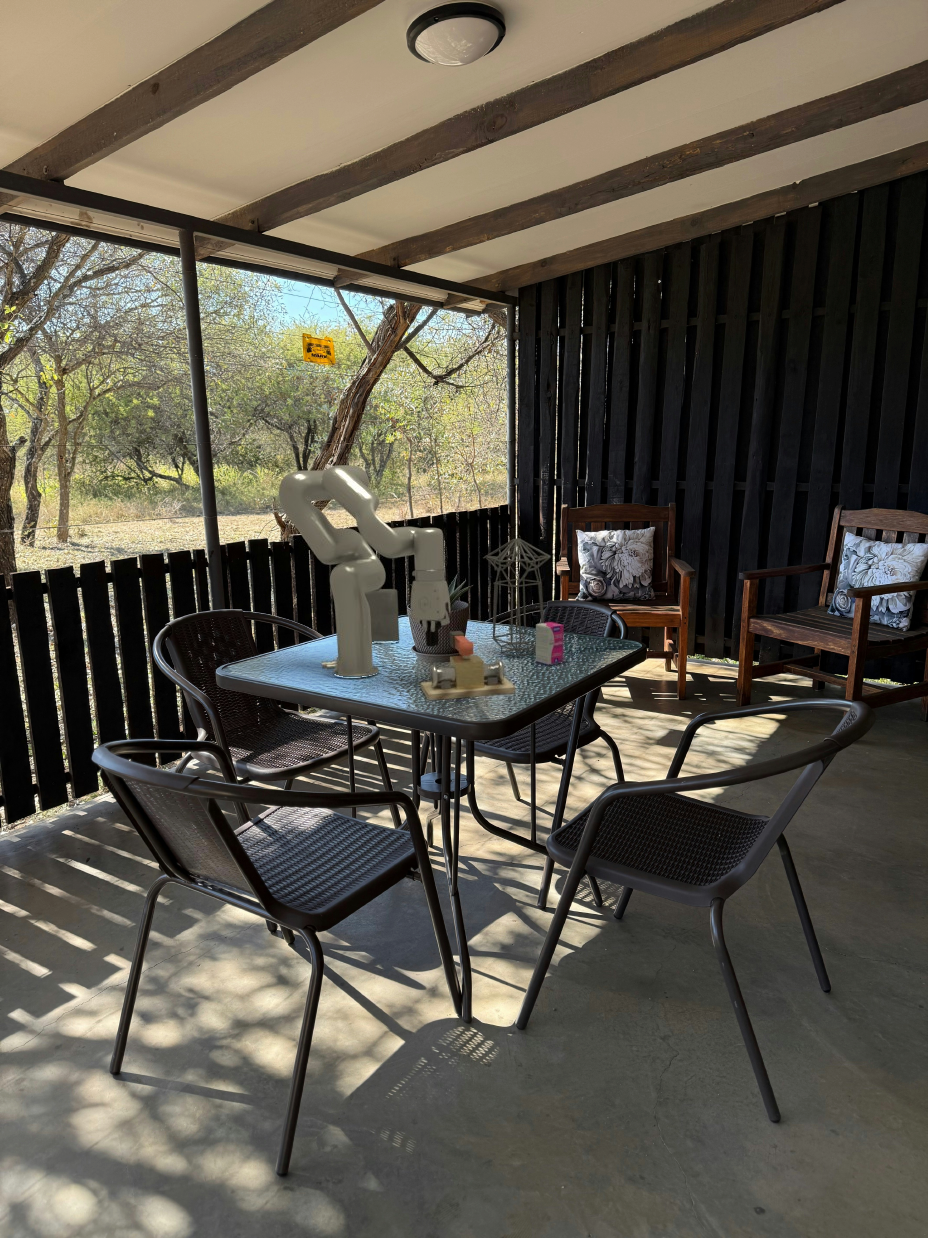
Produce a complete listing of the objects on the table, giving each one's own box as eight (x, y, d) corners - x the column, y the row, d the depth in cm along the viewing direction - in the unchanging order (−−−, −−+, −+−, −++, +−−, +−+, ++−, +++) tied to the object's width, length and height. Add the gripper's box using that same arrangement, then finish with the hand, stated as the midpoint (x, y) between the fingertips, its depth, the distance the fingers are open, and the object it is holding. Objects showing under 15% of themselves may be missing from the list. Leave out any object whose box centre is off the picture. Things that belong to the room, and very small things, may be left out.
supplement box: (548, 666, 227) (548, 626, 225) (535, 663, 232) (534, 624, 230) (564, 663, 230) (563, 624, 228) (550, 659, 235) (549, 621, 233)
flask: (399, 640, 270) (396, 581, 266) (399, 643, 264) (397, 583, 261) (354, 642, 268) (351, 583, 265) (353, 645, 263) (350, 585, 259)
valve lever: (475, 658, 201) (474, 642, 200) (460, 659, 200) (460, 643, 200) (462, 646, 216) (461, 630, 216) (448, 647, 216) (448, 631, 215)
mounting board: (428, 700, 196) (428, 694, 196) (420, 688, 208) (420, 682, 207) (515, 693, 200) (515, 687, 200) (503, 681, 212) (503, 676, 212)
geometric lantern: (521, 645, 255) (519, 535, 249) (555, 653, 243) (554, 537, 237) (482, 653, 246) (479, 539, 240) (515, 662, 234) (513, 541, 227)
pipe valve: (435, 694, 198) (434, 664, 197) (429, 687, 206) (428, 658, 204) (505, 688, 202) (504, 659, 201) (497, 681, 209) (497, 653, 208)
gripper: (398, 576, 209) (401, 645, 212) (445, 579, 201) (448, 650, 204) (415, 573, 215) (418, 640, 218) (461, 575, 207) (464, 645, 210)
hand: (432, 645), depth 211 cm, fingers closed
